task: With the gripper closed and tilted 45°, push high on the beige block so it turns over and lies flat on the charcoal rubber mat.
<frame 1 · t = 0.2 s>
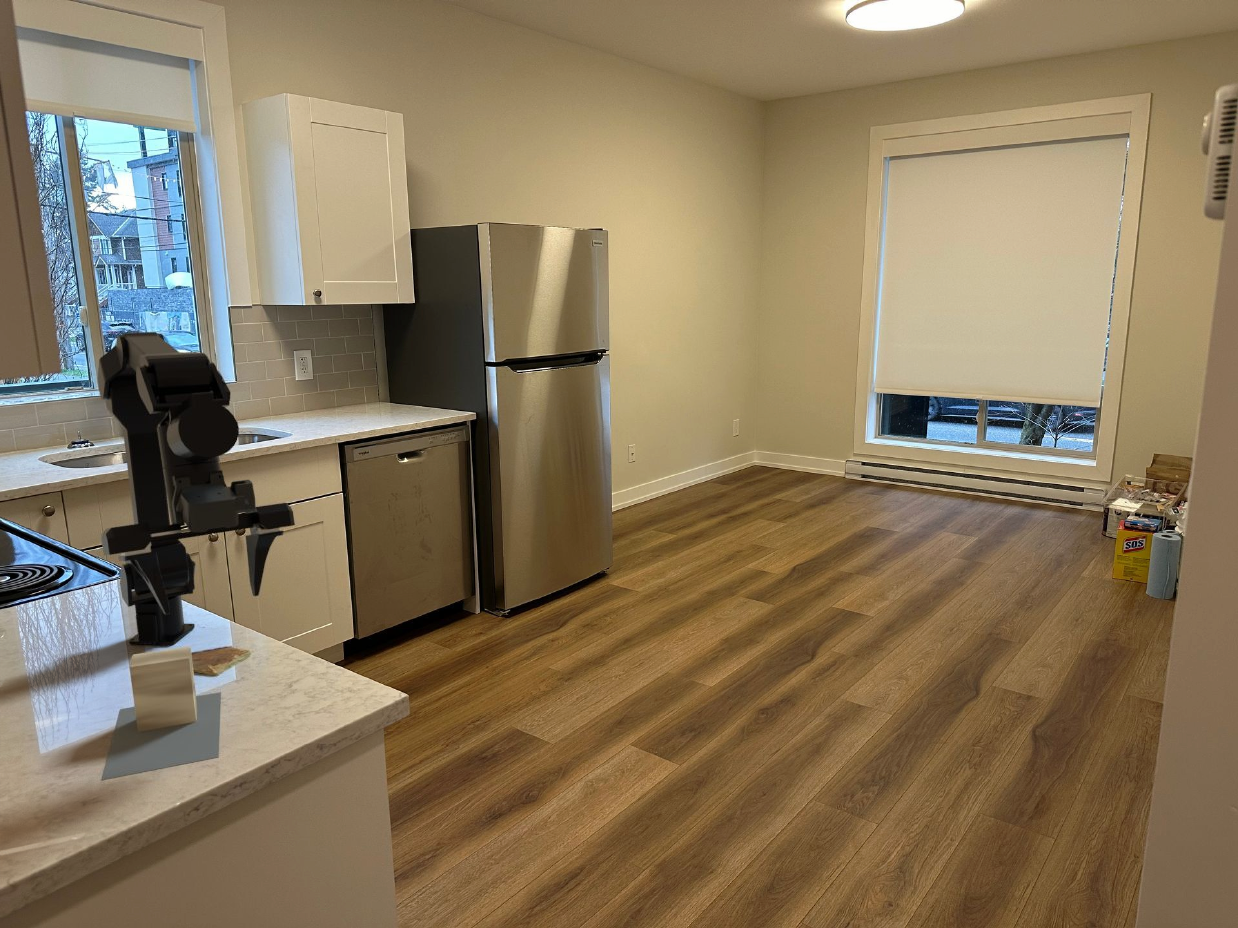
hand: (212, 604, 95), 16 cm above the counter, tool tilted 15°, fingers open, 9 cm apart
rubber mat: (167, 734, 98), on the counter
beige block: (168, 719, 101), resting on rubber mat
shard: (203, 673, 115), on the counter
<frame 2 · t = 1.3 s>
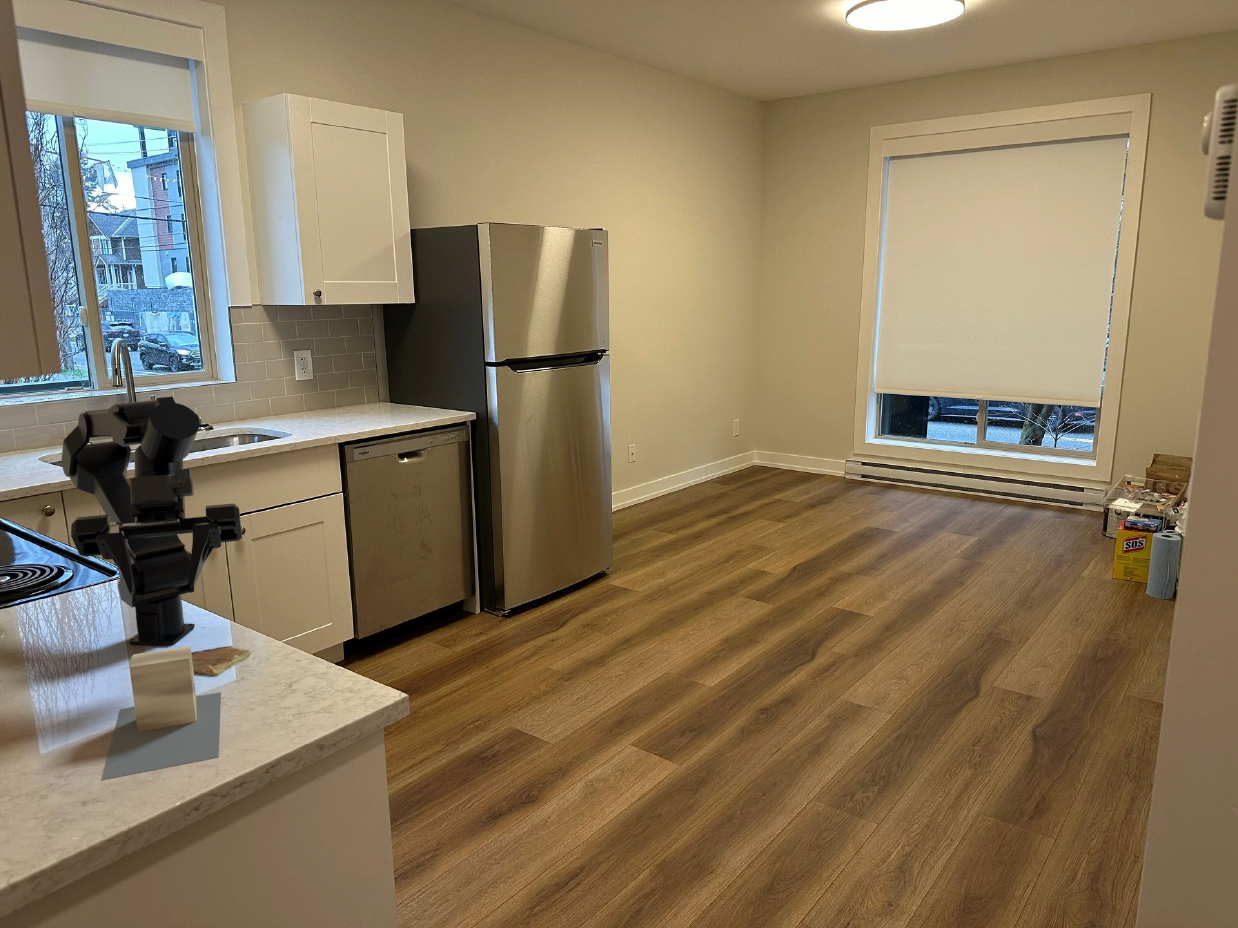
hand: (162, 589, 105), 13 cm above the counter, tool tilted 45°, fingers open, 6 cm apart
nothing on the counter moved.
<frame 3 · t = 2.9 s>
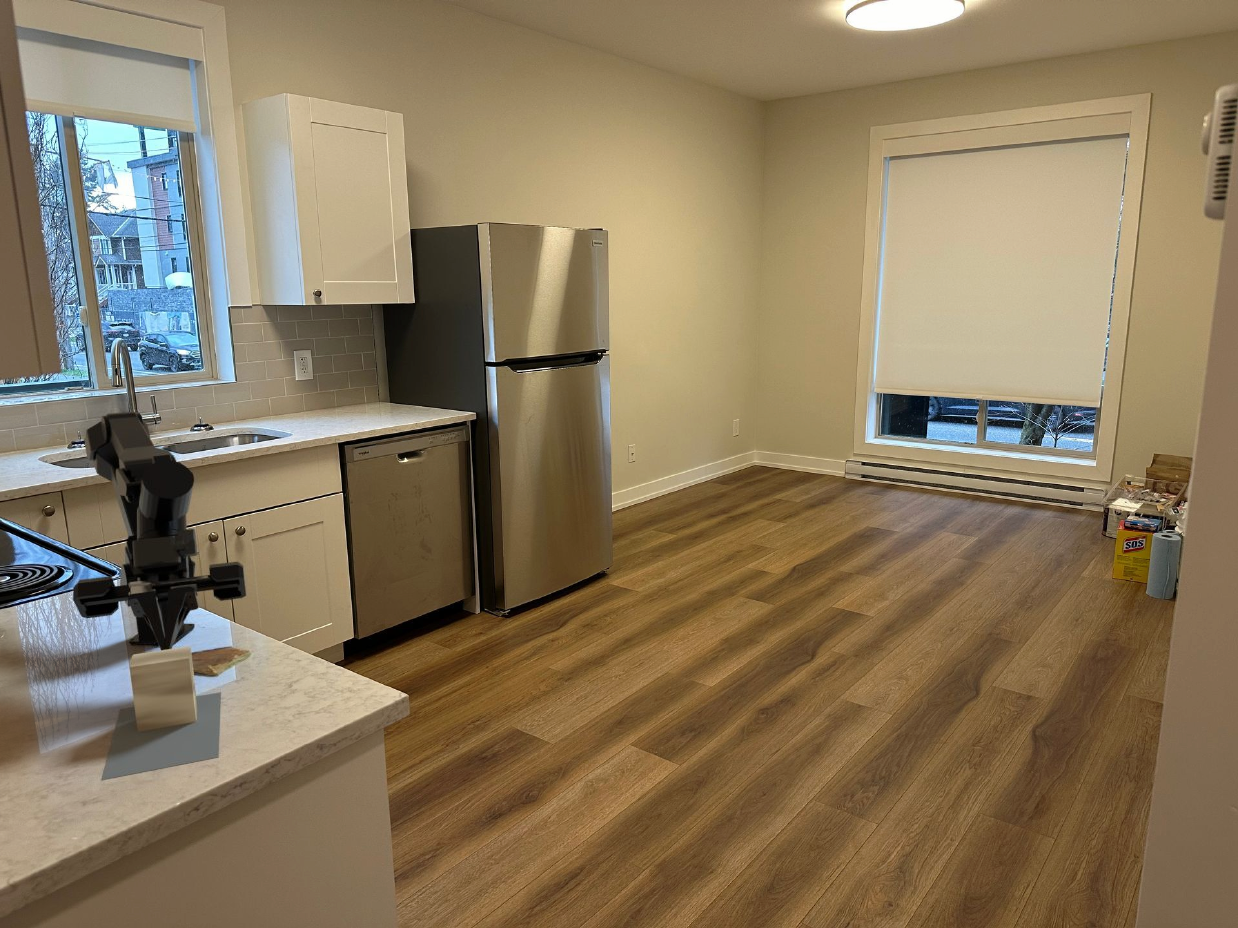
hand: (165, 652, 104), 7 cm above the counter, tool tilted 45°, fingers closed
nothing on the counter moved.
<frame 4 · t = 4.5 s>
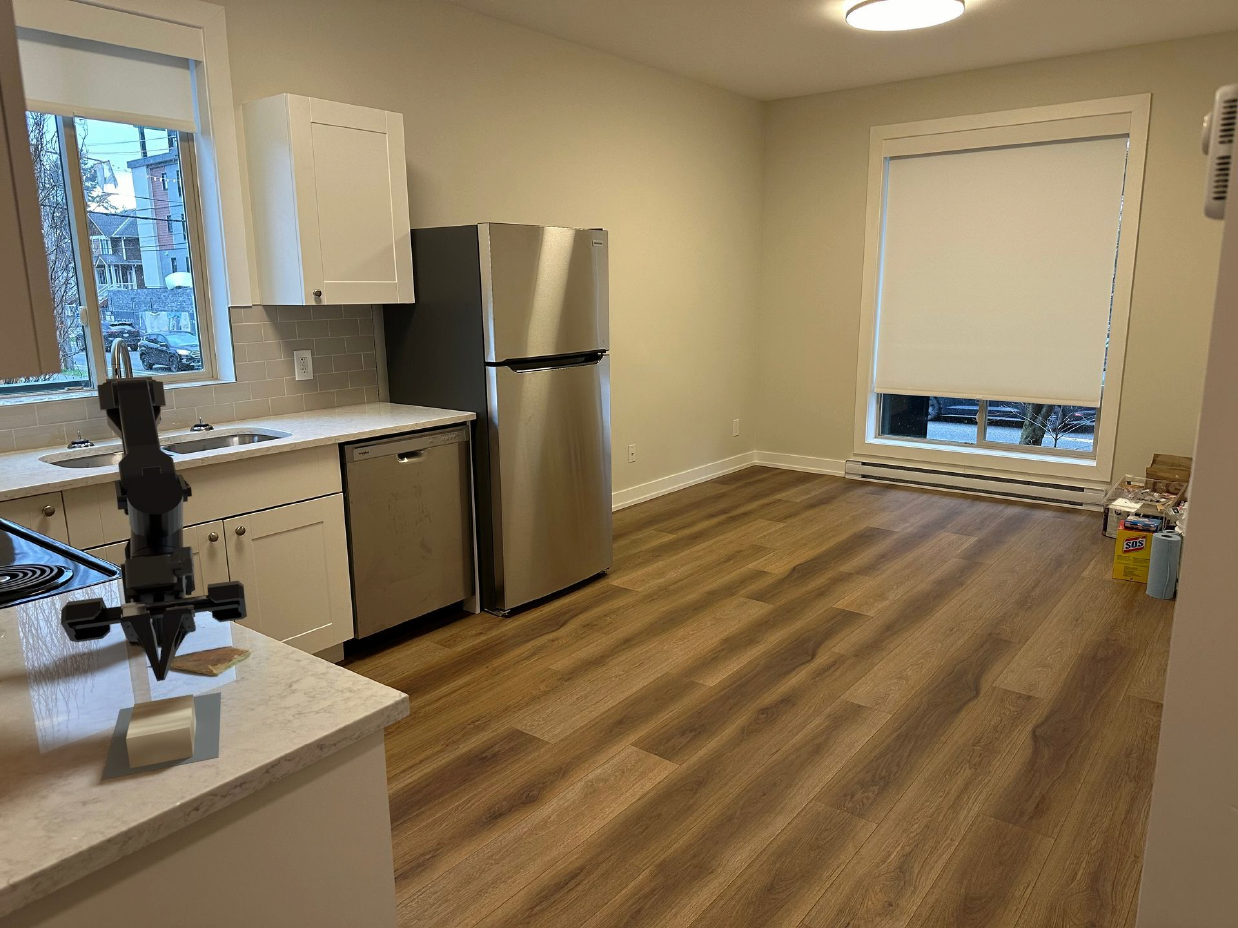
hand: (160, 679, 97), 7 cm above the counter, tool tilted 45°, fingers closed
beige block: (165, 712, 99), point 2 cm above the counter, tilted 90°, touching rubber mat
everything else where it was.
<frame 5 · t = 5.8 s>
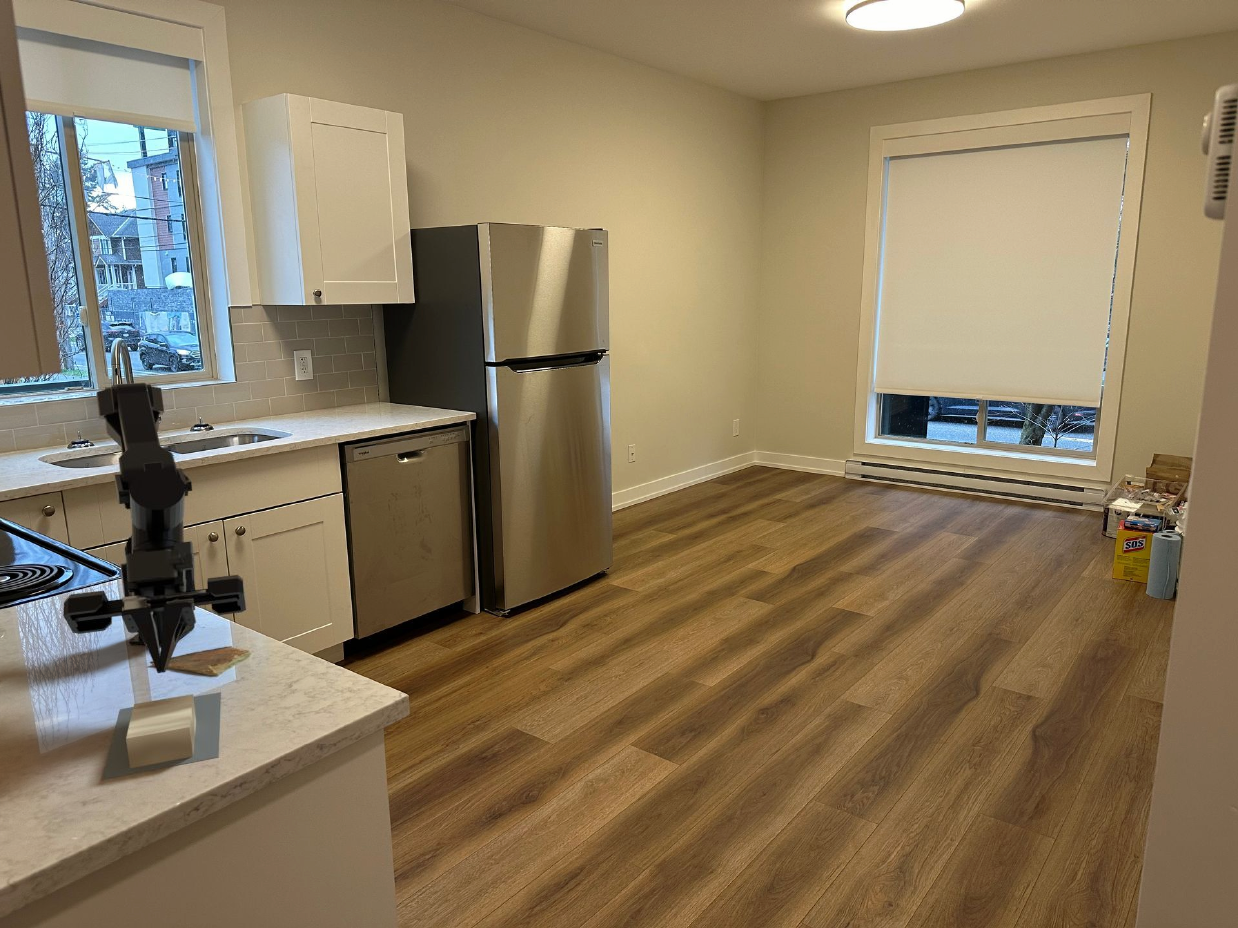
hand: (161, 671, 99), 7 cm above the counter, tool tilted 45°, fingers closed
nothing on the counter moved.
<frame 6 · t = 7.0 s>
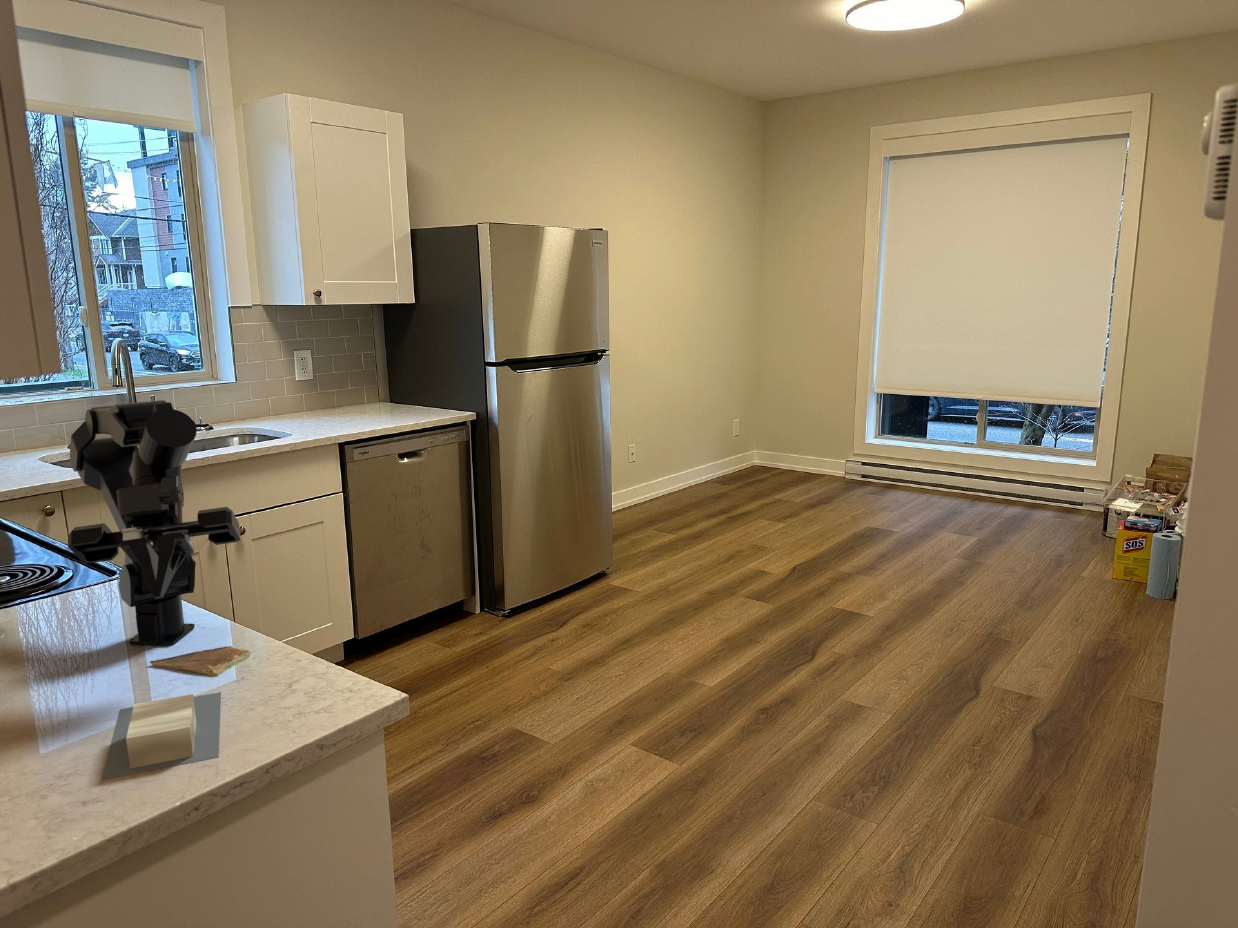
hand: (157, 597, 106), 12 cm above the counter, tool tilted 40°, fingers closed
nothing on the counter moved.
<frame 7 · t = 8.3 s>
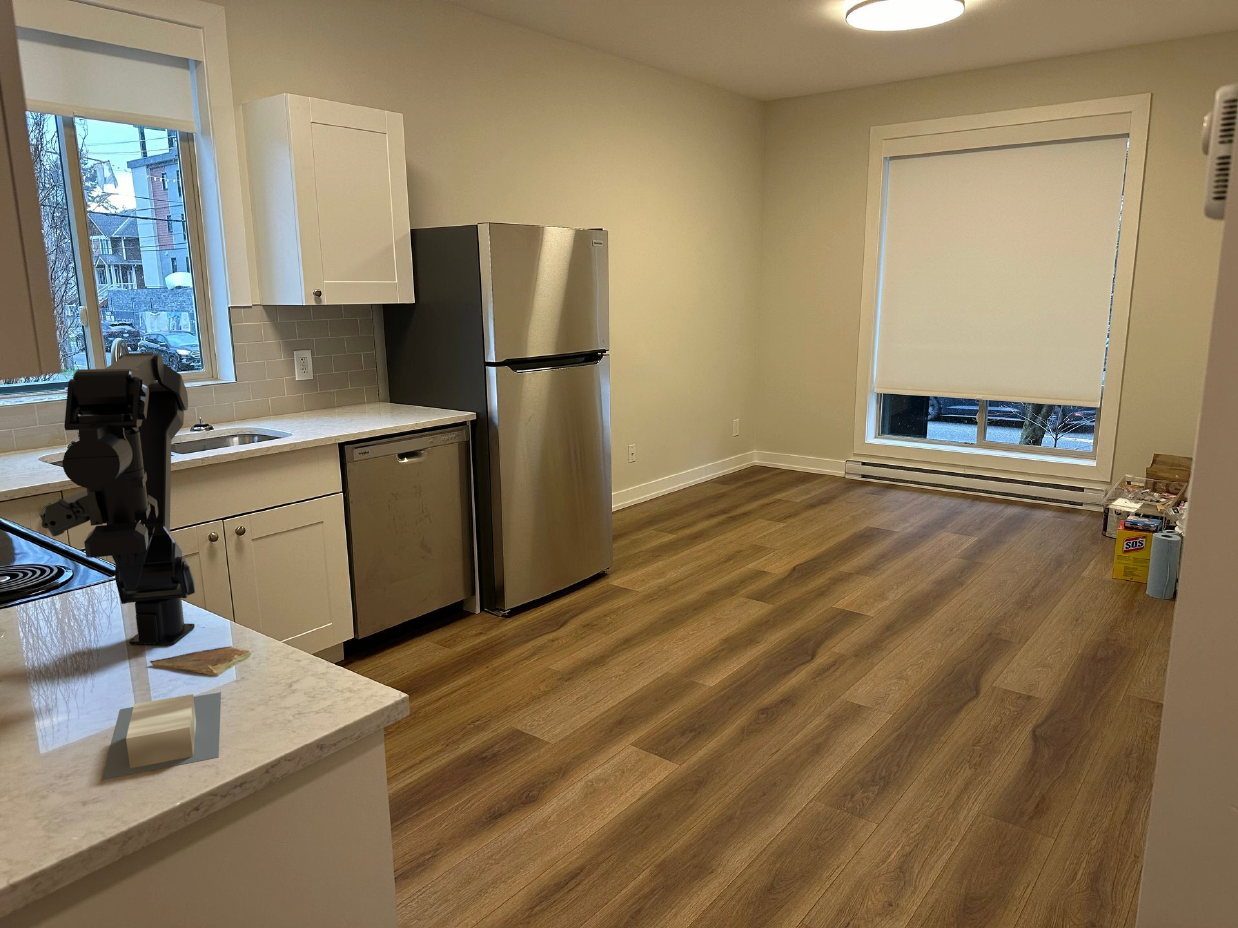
hand: (132, 588, 110), 12 cm above the counter, tool pointing down, fingers closed
nothing on the counter moved.
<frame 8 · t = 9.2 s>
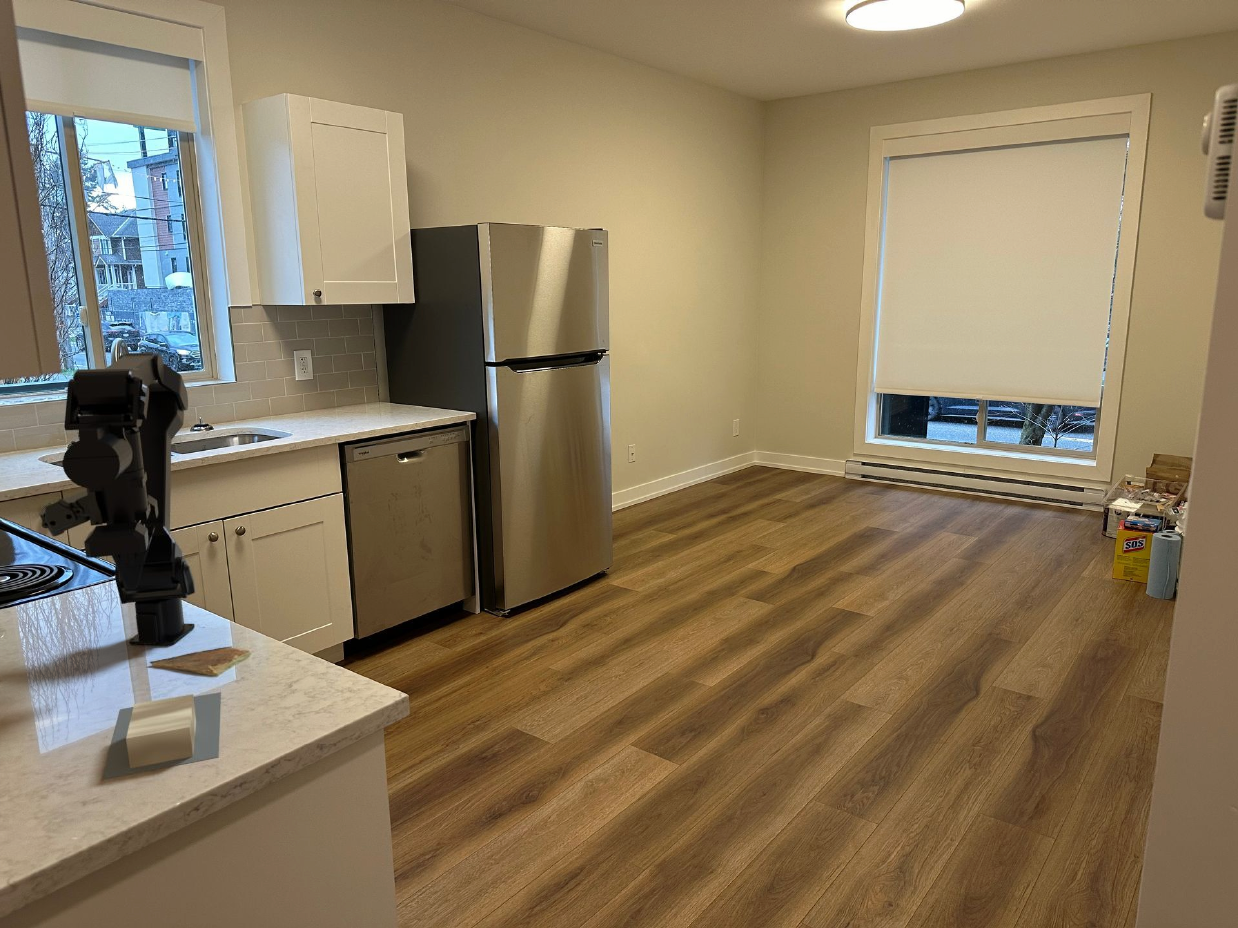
hand: (131, 588, 110), 12 cm above the counter, tool pointing down, fingers closed
nothing on the counter moved.
at the end: beige block tilted 90°; beige block inside the target area on the rubber mat (0.6 cm from its centre), point 2.1 cm above the rubber mat's base; the gripper is holding nothing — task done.
